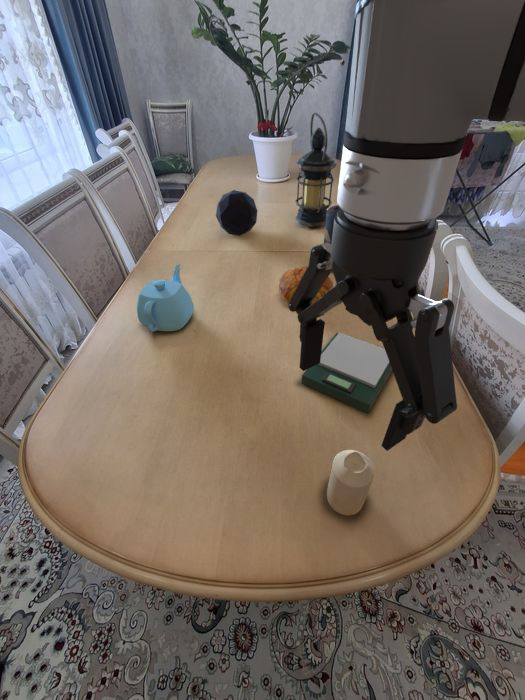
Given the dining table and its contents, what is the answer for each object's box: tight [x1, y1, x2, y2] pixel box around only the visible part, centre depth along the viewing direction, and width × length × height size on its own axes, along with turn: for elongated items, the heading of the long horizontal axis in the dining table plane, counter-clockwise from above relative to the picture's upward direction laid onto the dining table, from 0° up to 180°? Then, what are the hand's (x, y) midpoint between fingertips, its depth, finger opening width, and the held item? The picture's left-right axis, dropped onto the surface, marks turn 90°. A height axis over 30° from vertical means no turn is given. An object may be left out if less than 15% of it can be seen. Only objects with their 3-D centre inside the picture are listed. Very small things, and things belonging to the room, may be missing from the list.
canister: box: [323, 204, 341, 243], centre depth 101 cm, size 10×10×18 cm
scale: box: [301, 332, 393, 414], centre depth 71 cm, size 14×16×3 cm
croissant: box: [278, 266, 334, 305], centre depth 92 cm, size 14×16×8 cm
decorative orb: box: [215, 189, 258, 237], centre depth 122 cm, size 14×15×15 cm
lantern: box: [294, 112, 337, 228], centre depth 120 cm, size 14×13×35 cm
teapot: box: [136, 264, 195, 333], centre depth 85 cm, size 13×11×18 cm
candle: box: [326, 449, 375, 516], centre depth 49 cm, size 6×6×10 cm
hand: (347, 399), depth 40 cm, fingers open, 13 cm apart
